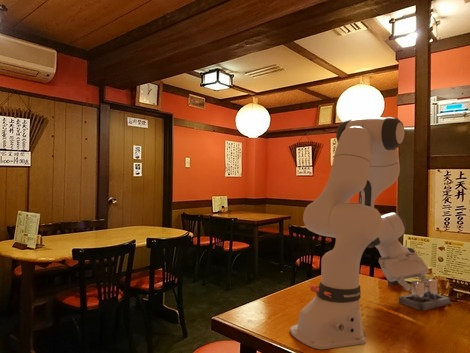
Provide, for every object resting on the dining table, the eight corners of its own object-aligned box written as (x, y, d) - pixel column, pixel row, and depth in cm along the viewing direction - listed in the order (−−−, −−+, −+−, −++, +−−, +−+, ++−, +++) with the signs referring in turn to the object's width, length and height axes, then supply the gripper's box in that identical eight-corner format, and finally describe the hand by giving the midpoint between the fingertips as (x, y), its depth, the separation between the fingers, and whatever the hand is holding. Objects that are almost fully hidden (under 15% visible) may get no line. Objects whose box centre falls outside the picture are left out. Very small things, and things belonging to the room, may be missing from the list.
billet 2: (432, 304, 124) (432, 282, 124) (422, 300, 128) (422, 279, 128) (439, 302, 126) (439, 280, 126) (428, 299, 130) (429, 277, 130)
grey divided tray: (421, 313, 118) (421, 305, 118) (398, 305, 126) (398, 297, 126) (449, 306, 125) (449, 298, 125) (426, 298, 133) (426, 290, 133)
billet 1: (419, 307, 121) (419, 284, 121) (409, 303, 125) (409, 281, 125) (426, 305, 123) (426, 283, 123) (416, 302, 126) (416, 280, 126)
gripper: (381, 253, 126) (405, 287, 117) (417, 248, 135) (441, 280, 126) (371, 262, 130) (393, 296, 121) (407, 257, 139) (430, 288, 130)
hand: (418, 288), depth 123 cm, fingers open, 8 cm apart
